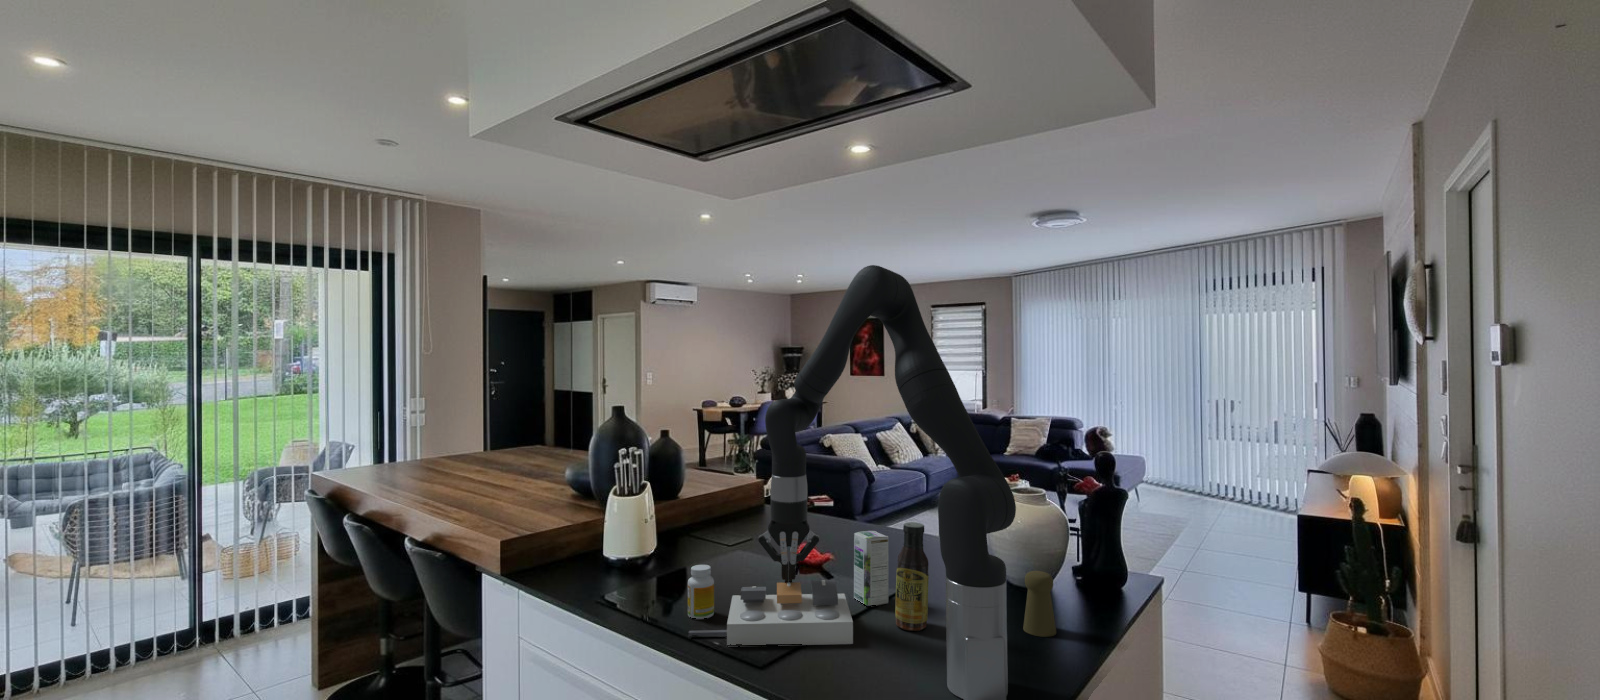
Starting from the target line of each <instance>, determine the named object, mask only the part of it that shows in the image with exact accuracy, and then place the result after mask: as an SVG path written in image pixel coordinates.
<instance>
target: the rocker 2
mask: <svg viewBox="0 0 1600 700" xmlns="http://www.w3.org/2000/svg"><path fill="white" fill-rule="evenodd" d="M802 594H803V593H802V584H801V581H798V582H797V581H795V582H793V581H792V582H789V581H788V582H786V583H785V582H776V595H777V604H778V603H802Z"/></svg>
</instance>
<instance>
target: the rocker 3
mask: <svg viewBox="0 0 1600 700" xmlns="http://www.w3.org/2000/svg"><path fill="white" fill-rule="evenodd" d="M810 583H811V585H810V588H811V594H812V599H813V605H838V595H837V594H838V589H837V583H836V579H812V580H811V581H810Z"/></svg>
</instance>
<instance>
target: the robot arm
mask: <svg viewBox="0 0 1600 700" xmlns="http://www.w3.org/2000/svg"><path fill="white" fill-rule="evenodd" d="M870 317H874V318H876V319H878V320H880V322H881V324H883V327H884V328H885V331H886V332H887V334H888V336H889V339H890V341H891V343H892V346H893V349H894V356H895V357H894V358H895V359H894V378H895V379H894V380H895V383H896V387H897V389H898V392H899V395H900V397H901V399H902V402H903V404H904V406H905V408H906V412H907V413H908V415H909V416H910V418H911V420H912V421H913V422H914V424H916V426H918V428H919V429H920V430H921V431H922V432H923V433H924V434H926V436H927V437H929V438H930V439H931V440H932V441H933V442H934V443H935V444H936V445H937V446H938V447H939V448H940V449H941V450H942V451H943V452H944V454H946V455H947V457H948V459H949V460H950V462H951V463H952V465H953V467H954V469H955V471H956V474H957V475H958V477H954V478H952V479H950V480H949V479H948V481H946V483H944V484H943V486H942V488H941V490H940V491H939V492H940V493H939V498H938V503H937V505H938V506H937V510H938V511H937V513H938V514H937V515H938V518H937V519H938V529H939V530H938V531H939V545H940V547H939V548H940V555H941V559H942V561H943V564H944V567H945V614H946V615H945V620H946V622H945V625H946V627H945V628H946V629H945V632H946V634H945V635H946V636H945V637H946V686H947V689H948V691H949V692H950V693H952V694H953V695H955V696H956V697H958V698H960V699H961V700H962V699H963V700H1007V696H1008V692H1009V690H1008V689H1009V688H1008V687H1009V685H1008V684H1009V679H1008V676H1009V675H1008V674H1009V673H1008V672H1009V671H1008V631H1007V630H1008V627H1007V626H1008V622H1007V619H1008V618H1007V611H1008V610H1007V567H1006V564H1005V561H1003V560H1002V558H1000V557H998V556H996V555H992V554H990V553H989V548H988V547H989V546H988V535H987V534H993V533H996V532H1001V531H1004V530H1005V529H1007V528H1009V527H1010V526H1011V525H1012V524H1013V522H1014V521H1015V518H1016V513H1017V505H1016V499H1015V496H1014V493H1013V490H1012V489H1011V487H1010V484H1009V482H1008V481H1007V479H1006V477H1005V476H1004V474H1003V473H1002V471H1001V469H1000V468H999V466H998V464H997V462H996V461H995V460H994V457H993V456H992V455H991V454H990V451H989V450H988V448H987V447H986V444H985V443H984V441H983V440H982V437H981V435H980V434H979V432H978V430H977V428H976V425H975V424H974V423H973V420H972V418H971V417H970V414H969V412H968V411H967V409H966V406H965V405H964V403H963V400H962V398H961V397H960V394H959V392H958V389H957V387H956V385H955V384H954V381H953V379H952V375H950V373H949V371H948V369H947V367H946V365H945V363H944V361H943V360H942V357H941V355H940V353H939V350H938V349H937V346H936V345H935V343H934V341H933V339H932V337H931V335H930V333H929V331H928V329H927V327H926V325H925V322H924V319H923V316H922V313H921V311H920V307H919V305H918V301H917V299H916V296H915V294H914V291H913V289H912V286H911V284H910V283H909V281H908V280H907V279H906V278H905V277H904V276H903V275H902V274H899V273H897V272H894V271H893V270H890V269H888V268H885V267H883V266H880V265H876V264H871V265H866V266H864V267H862V268H861V269H860V270H859V271H858V272H857V273H856V274H855V276H853V278H852V280H851V282H850V283H849V285H848V287H847V289H846V291H845V293H844V295H843V296H842V299H841V301H840V303H839V305H838V307H837V309H836V311H835V312H834V315H833V317H832V319H831V321H830V323H829V326H828V327H827V329H826V331H825V333H824V335H823V337H822V339H821V340H820V342H819V344H818V345H817V347H815V350H814V352H813V353H812V354H811V356H810V357H809V359H807V361H806V362H805V364H804V366H803V367H802V368H801V369H800V371H799V372H798V373H797V376H796V377H795V379H794V383H793V384H794V388H795V392H794V394H793V395H791V397H790V398H782V399H777V400H774V401H773V402H771V403H770V404H769V405H768V407H767V410H766V412H765V413H766V414H765V417H764V420H765V421H764V423H765V424H764V425H765V431H766V434H767V435H766V436H767V439H768V443H769V447H770V448H769V449H770V451H771V480H770V491H769V492H770V519H769V520H770V522H769V524H768V526H767V530H766V531H765V532H763V533H760V534H759V535H758V542H759V544H760V545H761V547H762V548H763V549H764V550H765V552H766V553H767V554H768V556H770V558H771V559H772V561H773V562H778V563H780V564H781V580H784V583H787V582H793V581H794V580H796V576H797V575H796V572H797V571H796V565H797V563H799V562H804V561H805V559H806V558H807V557H808V556H809V554H810V553H811V552H812V551H813V550H814V549H815V547H816V546H817V545H818V543H819V542H820V537H819V534H818V533H814V532H813V531H812V530H811V528H810V525H809V523H808V479H807V451H806V449H805V447H804V446H802V445H801V444H798V441H797V440H798V439H797V436H796V435H797V434H796V433H798V432H802V431H804V430H806V429H807V428H808V427H809V426H810V425H811V424H812V423H813V421H814V420H815V418H816V416H817V415H818V413H819V411H820V408H821V406H822V403H824V402H823V401H824V399H825V397H826V396H827V395H828V393H829V392H830V391H831V389H832V388H833V387H834V386H835V384H836V383H837V381H838V380H839V379H840V377H841V376H842V374H843V372H844V370H845V368H846V365H847V362H848V358H849V353H850V349H851V345H852V343H853V342H852V341H853V339H854V337H855V335H856V334H857V332H858V330H859V329H860V327H861V326H862V325H863V324H864V322H865V321H866V320H867V319H868V318H870ZM805 538H806V544H805V545H804V546H803V547H802V548H801V550H800V551H799V552H798V547H799V546H800V545H801V544H802V542H803V541H804V540H805ZM771 539H773V541H774V542H775V543H776V544H777V545H778V547H780V553H779V552H778V551H777V549H776V548H775V547H774V546H773V544H772V543H771V541H772V540H771ZM788 547H790V550H789V551H790V552H789V560H788Z"/></svg>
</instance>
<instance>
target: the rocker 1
mask: <svg viewBox="0 0 1600 700" xmlns="http://www.w3.org/2000/svg"><path fill="white" fill-rule="evenodd" d="M740 595H741V600H743V603H761V602H764V599H766V595H767V586H756V585H755V586H753V585H752V586H742V587H741V589H740Z"/></svg>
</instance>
